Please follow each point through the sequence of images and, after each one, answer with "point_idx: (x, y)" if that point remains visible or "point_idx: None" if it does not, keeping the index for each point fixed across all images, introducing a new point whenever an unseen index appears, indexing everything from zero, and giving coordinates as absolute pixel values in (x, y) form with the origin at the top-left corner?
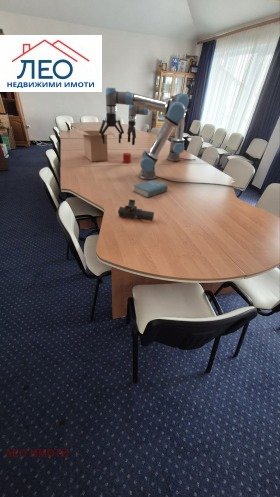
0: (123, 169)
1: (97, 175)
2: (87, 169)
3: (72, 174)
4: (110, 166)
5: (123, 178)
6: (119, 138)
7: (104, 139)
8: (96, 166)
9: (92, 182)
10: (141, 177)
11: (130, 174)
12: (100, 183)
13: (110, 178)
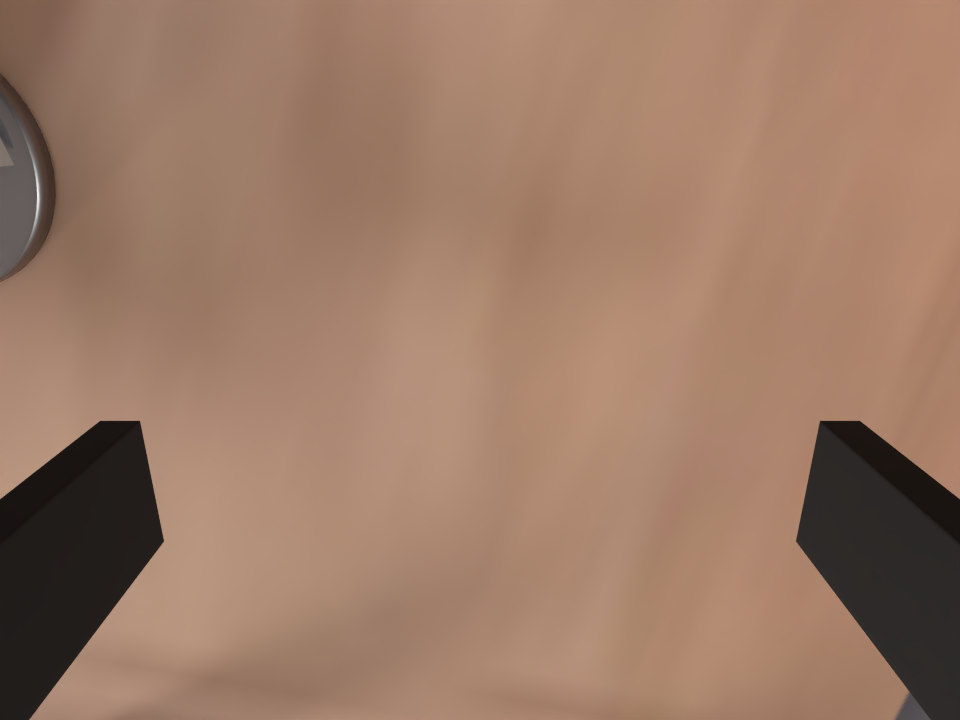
0: (213, 548)
1: (624, 415)
2: (661, 635)
3: None
4: (351, 676)
5: (314, 214)
6: (25, 571)
7: (929, 520)
8: (520, 705)
9: (794, 173)
10: (28, 126)
11: (166, 346)
12: (707, 101)
13: (497, 262)
